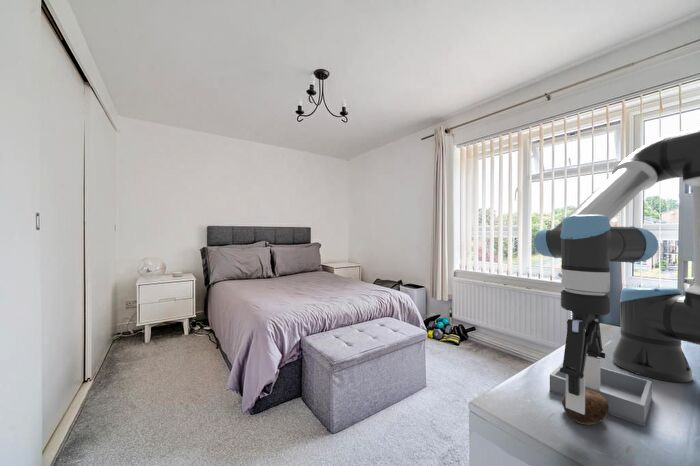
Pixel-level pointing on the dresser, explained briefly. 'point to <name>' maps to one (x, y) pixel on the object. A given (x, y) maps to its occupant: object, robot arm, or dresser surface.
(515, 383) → the dresser surface
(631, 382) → the tray
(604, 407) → the mushroom
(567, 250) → the robot arm
